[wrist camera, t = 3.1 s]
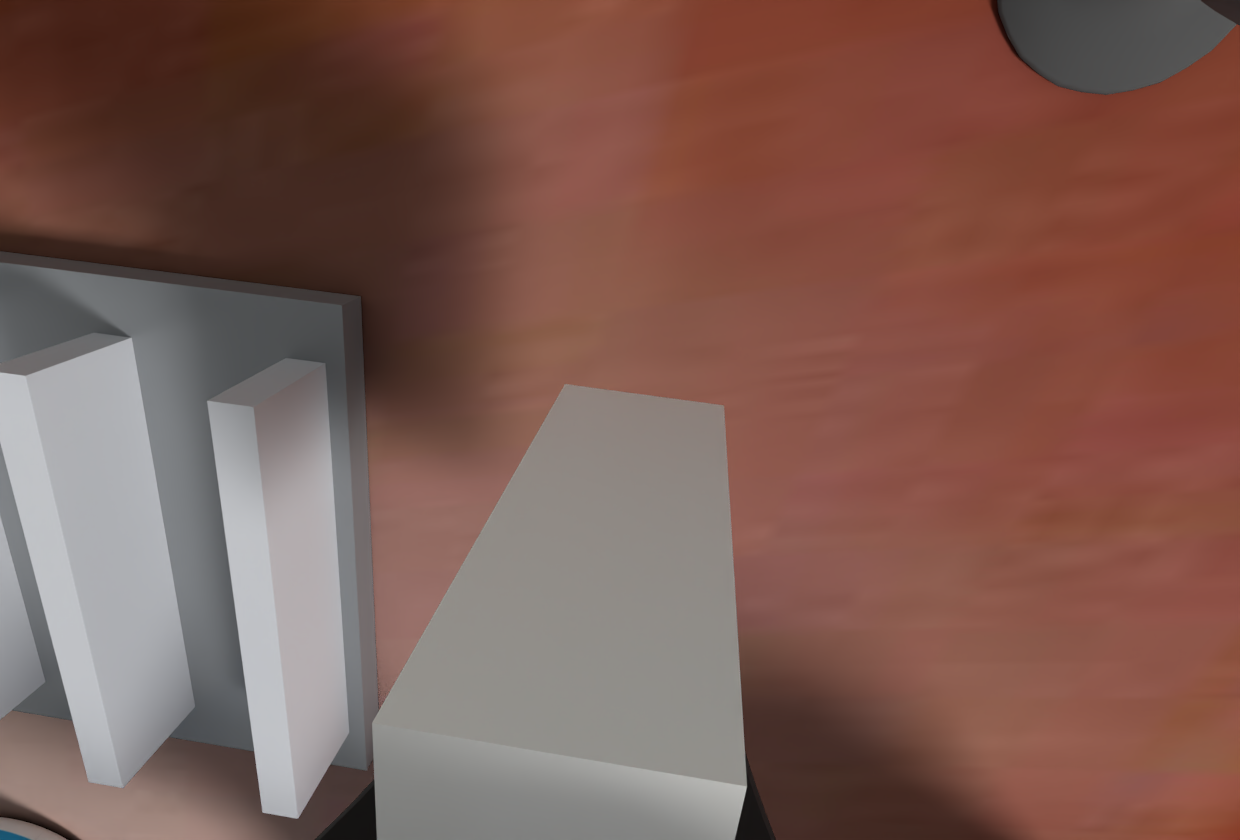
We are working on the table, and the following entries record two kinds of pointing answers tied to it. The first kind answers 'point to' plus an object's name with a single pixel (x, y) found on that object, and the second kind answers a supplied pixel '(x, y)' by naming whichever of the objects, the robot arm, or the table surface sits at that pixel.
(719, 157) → the table surface
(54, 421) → the rack
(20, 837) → the beverage bottle
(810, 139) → the table surface
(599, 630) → the tile
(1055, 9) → the sundae
